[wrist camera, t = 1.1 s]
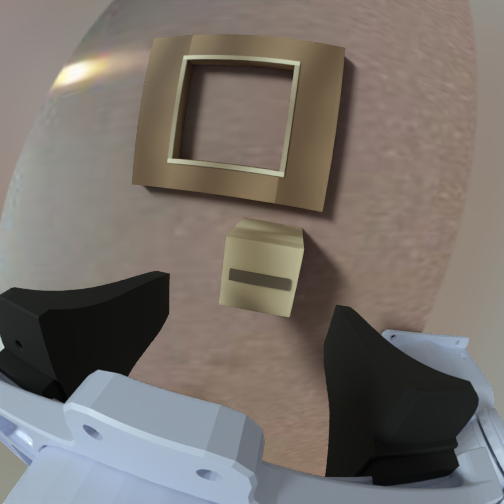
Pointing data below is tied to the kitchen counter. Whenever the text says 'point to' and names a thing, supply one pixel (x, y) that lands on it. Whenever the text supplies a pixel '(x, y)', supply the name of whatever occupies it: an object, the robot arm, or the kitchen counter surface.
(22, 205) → the kitchen counter surface
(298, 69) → the plate
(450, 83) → the kitchen counter surface
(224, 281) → the beige block with stripe
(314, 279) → the kitchen counter surface
